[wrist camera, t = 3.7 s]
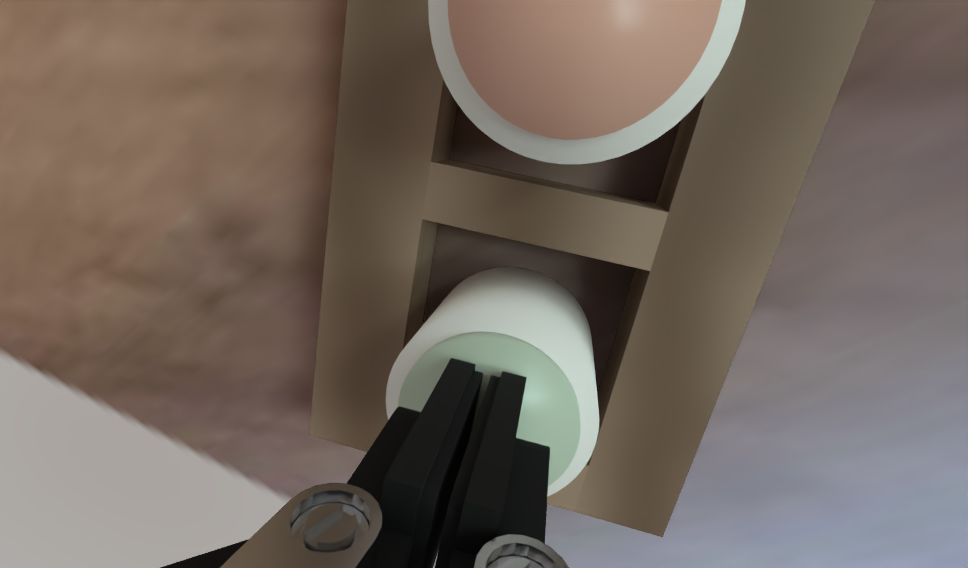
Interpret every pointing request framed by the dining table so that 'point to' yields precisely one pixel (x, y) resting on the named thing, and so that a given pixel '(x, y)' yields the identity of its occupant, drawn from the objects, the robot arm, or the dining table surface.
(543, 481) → the robot arm
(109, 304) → the dining table surface
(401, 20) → the rack with square compartments
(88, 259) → the dining table surface
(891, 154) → the dining table surface
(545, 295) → the white round cylinder
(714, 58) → the small jar
